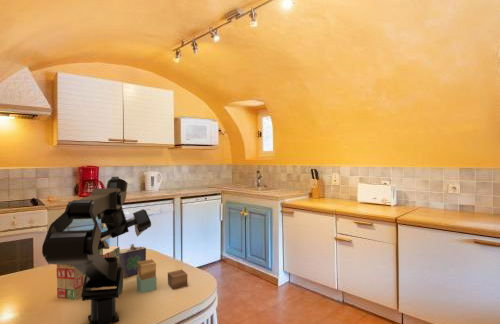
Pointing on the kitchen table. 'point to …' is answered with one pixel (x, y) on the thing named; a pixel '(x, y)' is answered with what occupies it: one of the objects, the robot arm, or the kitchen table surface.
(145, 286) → the tower base
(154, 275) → the oak cube
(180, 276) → the walnut block
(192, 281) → the kitchen table surface
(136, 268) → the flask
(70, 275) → the stack of blocks
